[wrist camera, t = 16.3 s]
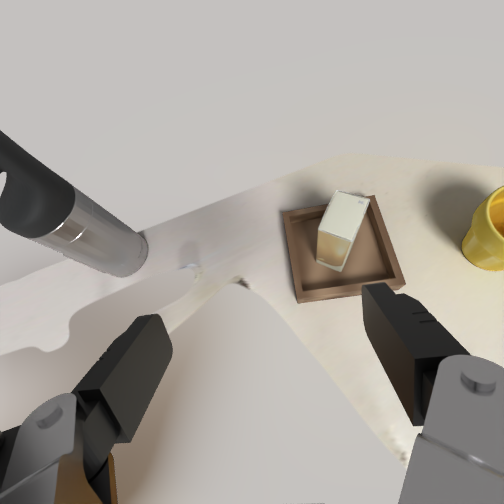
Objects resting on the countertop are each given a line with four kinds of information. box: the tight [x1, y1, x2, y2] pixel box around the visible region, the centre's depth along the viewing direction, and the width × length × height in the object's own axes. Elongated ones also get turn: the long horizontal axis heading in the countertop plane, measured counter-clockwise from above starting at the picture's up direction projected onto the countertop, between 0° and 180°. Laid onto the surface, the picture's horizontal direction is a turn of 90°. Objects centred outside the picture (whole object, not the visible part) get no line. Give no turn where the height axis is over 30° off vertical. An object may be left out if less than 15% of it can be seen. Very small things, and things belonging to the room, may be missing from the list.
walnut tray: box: [283, 195, 406, 303], centre depth 41 cm, size 15×15×3 cm
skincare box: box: [316, 190, 370, 272], centre depth 36 cm, size 6×4×12 cm
